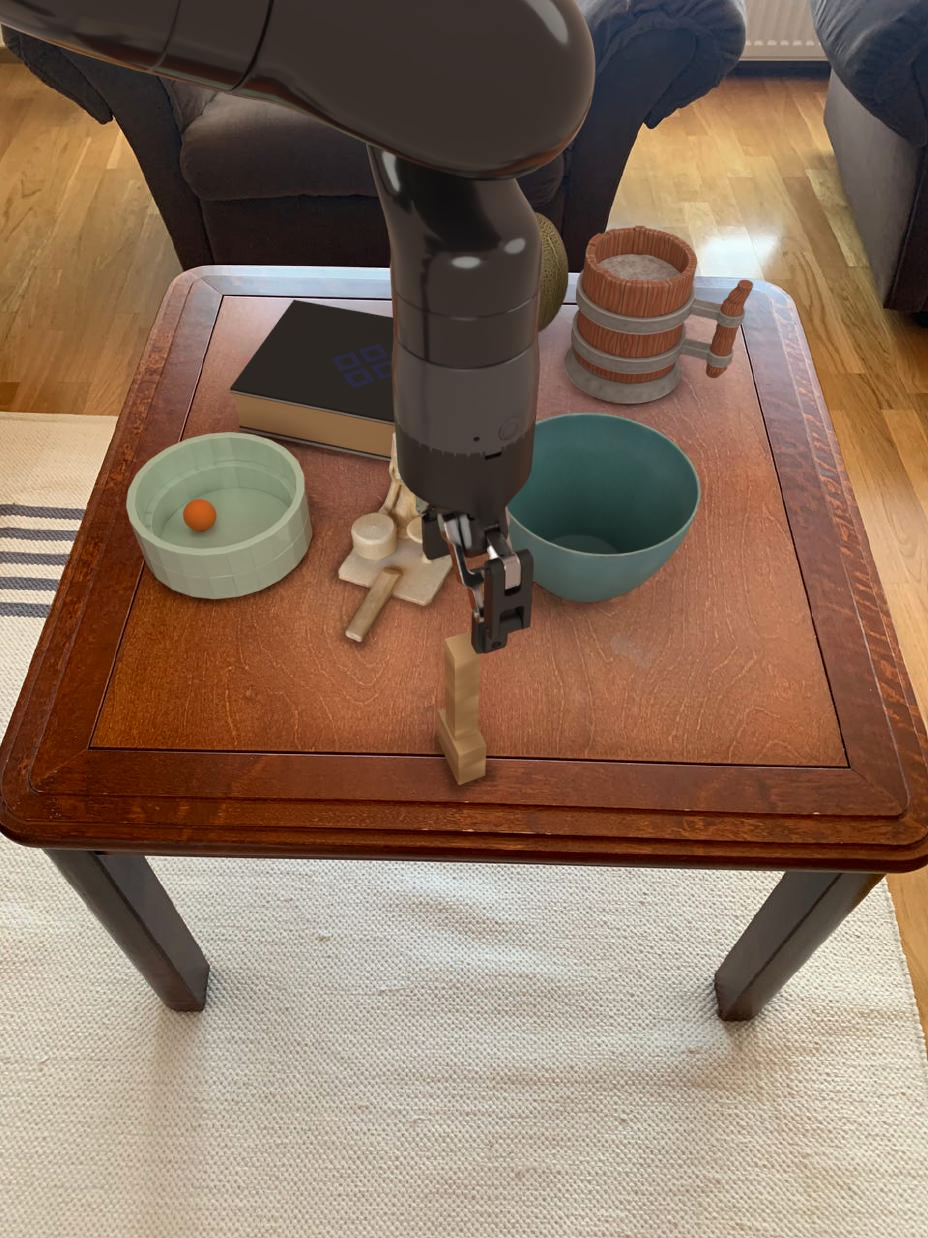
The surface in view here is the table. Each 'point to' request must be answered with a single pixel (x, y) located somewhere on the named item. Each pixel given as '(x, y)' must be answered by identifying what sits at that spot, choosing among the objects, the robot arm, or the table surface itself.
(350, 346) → the book
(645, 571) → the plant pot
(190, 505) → the ball
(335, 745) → the table surface
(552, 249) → the fruit
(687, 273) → the mug
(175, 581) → the bowl
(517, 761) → the table surface
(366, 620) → the wooden toy
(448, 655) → the stick
